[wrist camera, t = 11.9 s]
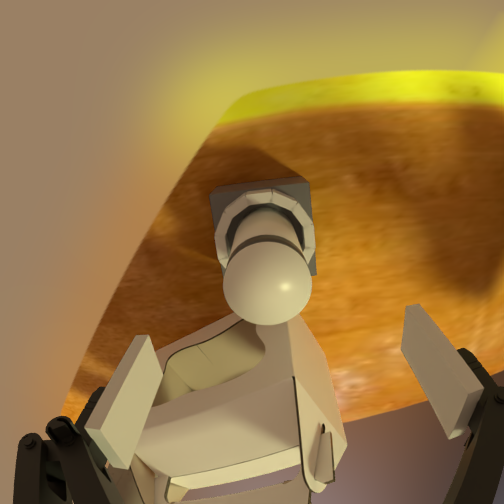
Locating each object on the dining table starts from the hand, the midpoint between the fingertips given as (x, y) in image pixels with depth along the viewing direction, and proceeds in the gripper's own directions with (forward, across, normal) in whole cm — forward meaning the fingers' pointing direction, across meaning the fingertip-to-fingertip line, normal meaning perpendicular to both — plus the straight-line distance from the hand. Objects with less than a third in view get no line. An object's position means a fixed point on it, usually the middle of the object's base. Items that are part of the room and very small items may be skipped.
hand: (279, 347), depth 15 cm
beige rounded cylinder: (+19, +1, 0) cm, 19 cm away
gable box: (+25, +7, +19) cm, 32 cm away
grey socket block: (+25, +1, 0) cm, 25 cm away
